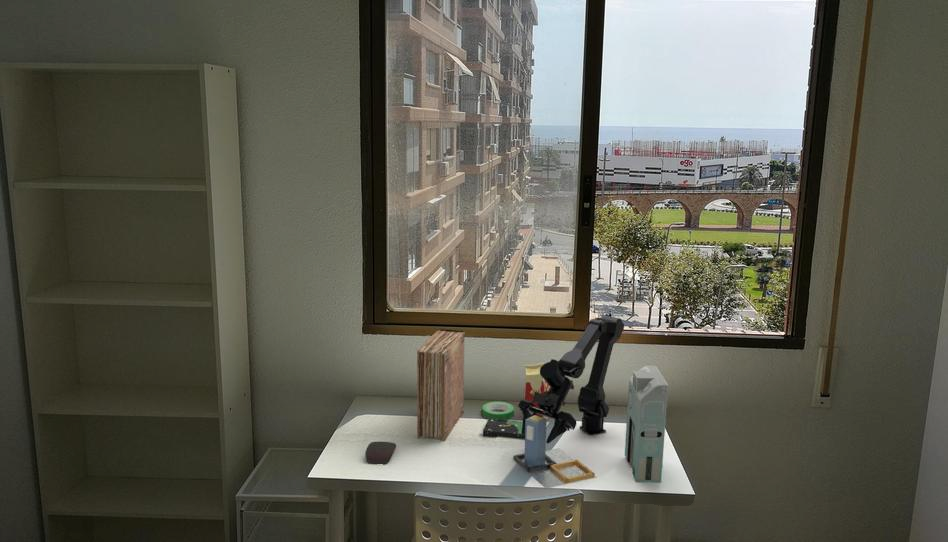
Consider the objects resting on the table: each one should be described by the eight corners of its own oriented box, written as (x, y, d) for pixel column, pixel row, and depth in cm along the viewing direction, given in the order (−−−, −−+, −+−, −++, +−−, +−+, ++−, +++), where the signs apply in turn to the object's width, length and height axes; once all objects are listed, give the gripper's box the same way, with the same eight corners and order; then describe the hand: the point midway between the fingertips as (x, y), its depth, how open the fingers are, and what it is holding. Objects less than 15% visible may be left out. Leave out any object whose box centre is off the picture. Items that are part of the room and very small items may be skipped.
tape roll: (509, 422, 268) (509, 415, 267) (478, 418, 271) (478, 411, 270) (517, 410, 278) (517, 403, 278) (487, 406, 281) (487, 400, 281)
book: (444, 441, 252) (444, 353, 245) (416, 438, 254) (416, 350, 247) (463, 412, 276) (464, 330, 269) (438, 409, 278) (439, 328, 271)
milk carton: (551, 413, 276) (553, 359, 271) (544, 423, 267) (546, 367, 263) (526, 409, 279) (527, 356, 274) (519, 419, 270) (520, 364, 266)
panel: (559, 449, 247) (559, 445, 247) (596, 478, 228) (596, 474, 228) (511, 459, 240) (511, 454, 240) (545, 490, 221) (545, 485, 221)
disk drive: (482, 438, 256) (527, 442, 253) (482, 430, 255) (527, 434, 253) (488, 425, 266) (531, 429, 263) (488, 418, 265) (531, 421, 263)
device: (624, 456, 243) (629, 365, 236) (649, 457, 243) (655, 365, 236) (634, 482, 227) (640, 384, 220) (661, 482, 227) (668, 385, 220)
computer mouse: (363, 464, 236) (363, 452, 235) (373, 445, 249) (373, 433, 248) (389, 466, 235) (389, 453, 234) (398, 446, 248) (398, 434, 248)
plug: (533, 457, 240) (534, 413, 237) (545, 462, 237) (546, 417, 234) (522, 463, 236) (523, 419, 233) (534, 468, 233) (535, 423, 230)
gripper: (522, 374, 241) (499, 418, 235) (573, 388, 230) (550, 435, 224) (536, 391, 249) (514, 434, 243) (586, 406, 237) (564, 452, 231)
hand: (534, 438), depth 235 cm, fingers open, 9 cm apart
